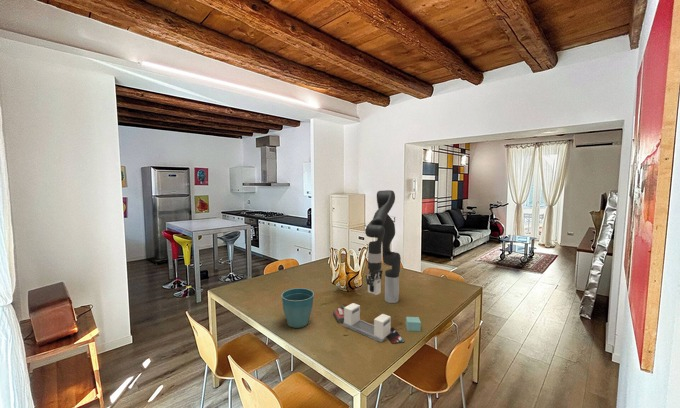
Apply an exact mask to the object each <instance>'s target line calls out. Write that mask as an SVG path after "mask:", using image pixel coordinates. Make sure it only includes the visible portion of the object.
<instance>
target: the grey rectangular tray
mask: <svg viewBox="0 0 680 408" xmlns="http://www.w3.org/2000/svg"><path fill="white" fill-rule="evenodd" d="M342 327H344V328H347V329H348V330H349V329H350V330H351V331H354V332H356V333H358V334H360V335H363V336H365V337H368V338H370V339H371V340H374V341H376V342H379V343H383V342H384V341H385V340H386V339H388V338H387V337H388V336H389V335H391V332H390V334H389V335H387V336H386V337H385V338H384V339H381V338H379V337H377V336H374V323H373V324H372V323H370V322H367V321H365V320H363V319H360V320H359V321H358V322H357V323H355V324H354V325H349V324H346V323H342Z"/></svg>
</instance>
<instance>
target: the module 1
mask: <svg viewBox="0 0 680 408" xmlns="http://www.w3.org/2000/svg"><path fill="white" fill-rule="evenodd" d="M359 320H361V305H360V304H357V303H354V302H352V303H350V304H348V305H347V306H344V323H346V324H349V325H354V324H355V323H357V322H358V321H359Z"/></svg>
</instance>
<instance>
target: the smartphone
mask: <svg viewBox="0 0 680 408" xmlns="http://www.w3.org/2000/svg"><path fill="white" fill-rule="evenodd" d="M390 332H391V335H389V336H388V337H387V338H386V339H388V341H389V342H390V344H392V345H397V344H398V345H399V344H405V342H406V341H405V339H404V338H402V336H401V335H400V334H399V333H398V331H397V330H396V329H395V328H394V327H391V329H390Z"/></svg>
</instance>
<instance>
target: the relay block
mask: <svg viewBox="0 0 680 408" xmlns="http://www.w3.org/2000/svg"><path fill="white" fill-rule="evenodd" d="M405 326H406V330H407V331H408V332H422V330H421V329H422V322H421V320H420V317H419V316H406V317H405Z"/></svg>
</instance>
